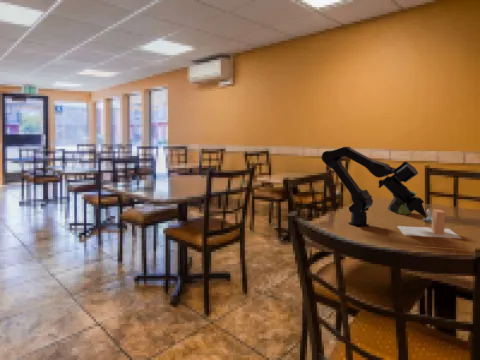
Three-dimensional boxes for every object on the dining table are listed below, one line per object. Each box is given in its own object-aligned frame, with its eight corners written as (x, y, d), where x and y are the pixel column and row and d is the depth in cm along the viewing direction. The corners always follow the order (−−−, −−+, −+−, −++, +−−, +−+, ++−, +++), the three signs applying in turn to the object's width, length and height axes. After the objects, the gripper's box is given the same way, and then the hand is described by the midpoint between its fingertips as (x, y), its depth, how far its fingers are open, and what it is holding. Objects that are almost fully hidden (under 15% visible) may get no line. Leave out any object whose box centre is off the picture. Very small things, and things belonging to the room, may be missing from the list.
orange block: (435, 234, 131) (436, 212, 130) (431, 230, 136) (432, 209, 135) (443, 234, 130) (445, 212, 129) (439, 230, 135) (440, 209, 134)
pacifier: (441, 222, 151) (427, 219, 156) (442, 209, 150) (428, 207, 155) (434, 225, 147) (420, 222, 151) (436, 211, 146) (422, 209, 150)
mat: (403, 235, 130) (404, 234, 130) (396, 226, 143) (396, 225, 143) (461, 239, 125) (462, 238, 125) (448, 229, 138) (448, 228, 138)
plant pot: (409, 210, 175) (411, 190, 173) (419, 216, 163) (421, 194, 162) (387, 210, 176) (388, 190, 175) (395, 215, 164) (396, 193, 163)
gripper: (378, 197, 146) (403, 222, 145) (385, 205, 128) (414, 234, 127) (398, 180, 143) (424, 206, 142) (408, 186, 125) (438, 215, 124)
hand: (424, 215), depth 133 cm, fingers closed
